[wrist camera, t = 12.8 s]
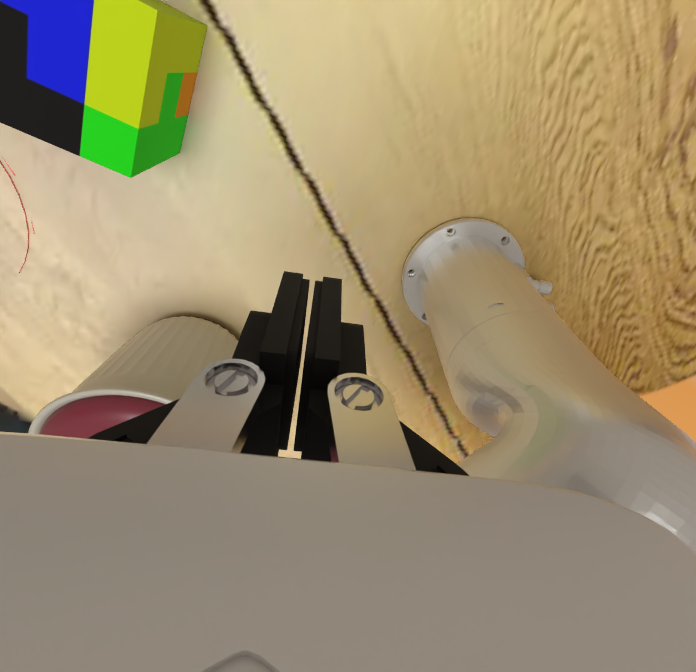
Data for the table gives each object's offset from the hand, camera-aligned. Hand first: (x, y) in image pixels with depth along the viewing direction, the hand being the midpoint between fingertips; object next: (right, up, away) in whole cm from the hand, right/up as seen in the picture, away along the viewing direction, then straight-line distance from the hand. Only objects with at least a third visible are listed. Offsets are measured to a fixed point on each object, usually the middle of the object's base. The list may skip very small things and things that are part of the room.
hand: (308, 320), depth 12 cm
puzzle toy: (-16, +22, +21) cm, 34 cm away
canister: (-17, -3, +37) cm, 41 cm away
